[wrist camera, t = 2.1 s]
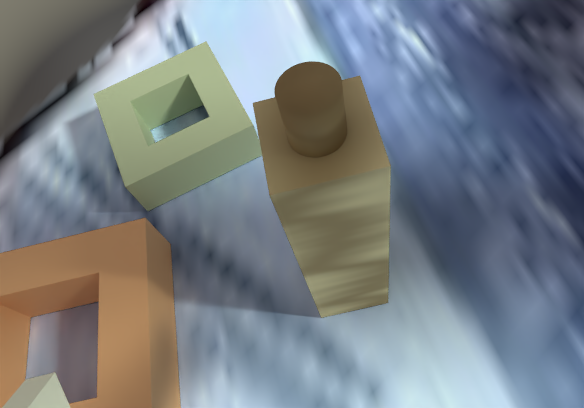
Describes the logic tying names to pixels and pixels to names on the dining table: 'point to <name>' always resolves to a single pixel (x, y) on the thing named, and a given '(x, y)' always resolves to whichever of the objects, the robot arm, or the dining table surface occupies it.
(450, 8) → the dining table surface
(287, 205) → the peg block
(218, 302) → the dining table surface
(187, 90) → the green square ring
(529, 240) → the dining table surface
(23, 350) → the orange square frame
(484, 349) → the dining table surface
